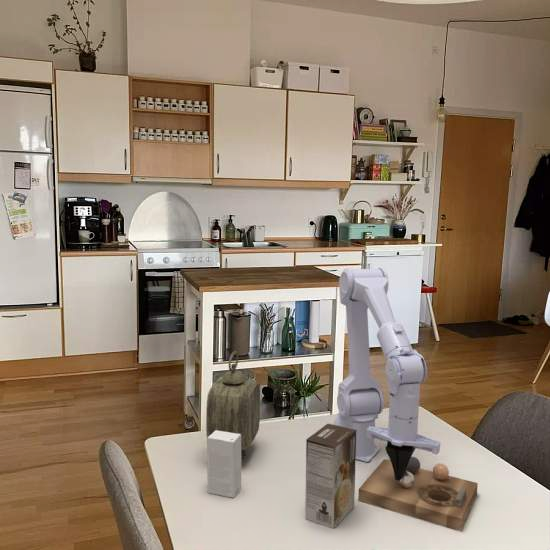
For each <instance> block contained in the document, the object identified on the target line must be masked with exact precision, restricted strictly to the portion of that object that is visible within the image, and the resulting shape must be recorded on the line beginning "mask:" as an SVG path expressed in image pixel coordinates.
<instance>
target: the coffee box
mask: <svg viewBox="0 0 550 550" xmlns="http://www.w3.org/2000/svg"><path fill="white" fill-rule="evenodd" d="M356 431H357V430H354V429H350V428H346V427H342V426H337V425H333V424H332V423H327V424H325V425H324V426H322V427H321V428H319V430H317V431H316V432H314V433H312V434H311V435H310V436H309V437H307V438H306V439H305V441H306V447H305V454H306V455H305V502H304V503H305V510H304V511H305V513H304V517H305V519H306V520H308V521H311V522H315V523H317V524H320V525H321V526H326V527H328V528H331V529H335V528H336V527H337V526H338V525H339V524H340V523H341V522H342V521H343V519H344V518H345V517H346V516H347V515H348V514H349V513H350V511H352V509H353V508H354V507H355V494H356V493H355V490H356V489H355V488H356V485H355V484H356V460H357V459H356Z"/></svg>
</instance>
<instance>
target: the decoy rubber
mask: <svg viewBox="0 0 550 550" xmlns="http://www.w3.org/2000/svg"><path fill="white" fill-rule="evenodd" d="M420 467H421V462H420V460H419V458H417V457H416V456H411V458H410V460H409V463H408V465H407V468H406V469H407V470H408V471H409V472H416V471H418V470H419V468H420Z"/></svg>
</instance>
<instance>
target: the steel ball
mask: <svg viewBox="0 0 550 550" xmlns="http://www.w3.org/2000/svg"><path fill="white" fill-rule="evenodd" d="M414 482H415V478H414V476H413V474H412V473H411V472H408V471H404V473H403V475H402V478H401V480H400V481H399V483H400V485H401V486H403V487H405V488H410V487H412V486H413V485H414Z"/></svg>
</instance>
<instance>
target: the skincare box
mask: <svg viewBox="0 0 550 550" xmlns="http://www.w3.org/2000/svg"><path fill="white" fill-rule="evenodd" d="M206 449H207V451H206V453H207V455H206V456H207V457H206V459H207V463H206V464H207V466H206V467H207V471H206V472H207V493H208V494H213V495H217V496H222V497H228V498H235V497H236V496H237V495H238V493H239V492H240V491H241V489H242V457H241V434H237V433H230V432H224V431H217V430H215V431H214V432H213V433H212V434H211V435H210V436H209V437H207V436H206Z"/></svg>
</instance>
